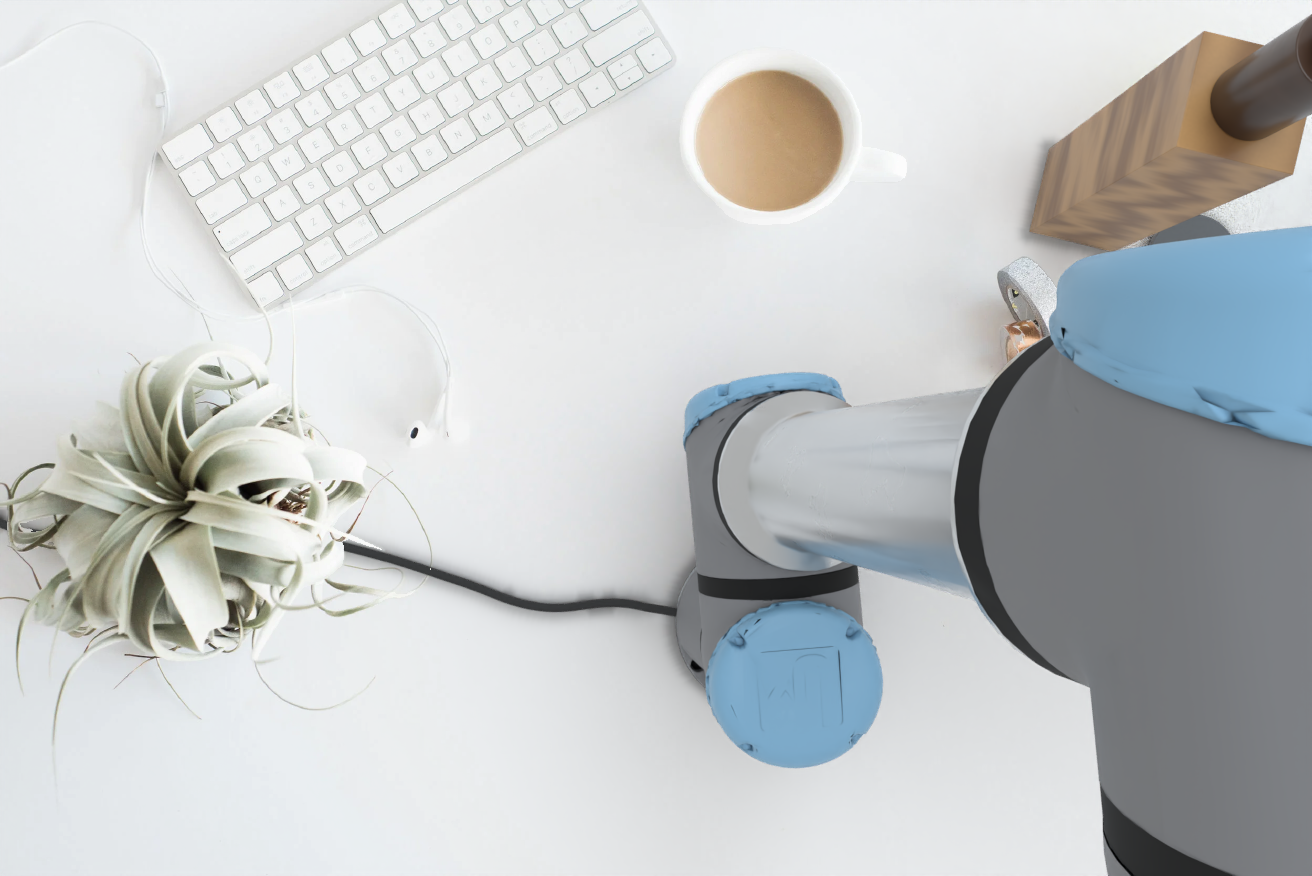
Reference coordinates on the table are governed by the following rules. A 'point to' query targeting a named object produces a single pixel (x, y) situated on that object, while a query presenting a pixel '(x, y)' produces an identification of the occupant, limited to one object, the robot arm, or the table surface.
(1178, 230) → the coaster
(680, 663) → the table surface
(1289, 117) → the pepper mill
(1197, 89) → the block
